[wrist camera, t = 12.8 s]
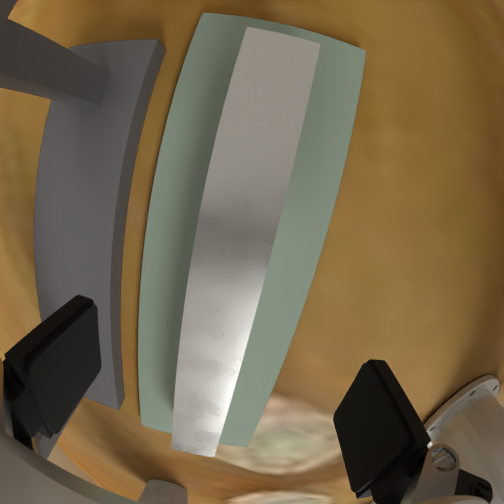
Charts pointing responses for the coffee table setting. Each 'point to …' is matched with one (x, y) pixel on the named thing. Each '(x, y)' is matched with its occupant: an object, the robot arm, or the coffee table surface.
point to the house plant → (163, 493)
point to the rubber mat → (188, 208)
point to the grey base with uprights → (83, 174)
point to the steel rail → (238, 227)
